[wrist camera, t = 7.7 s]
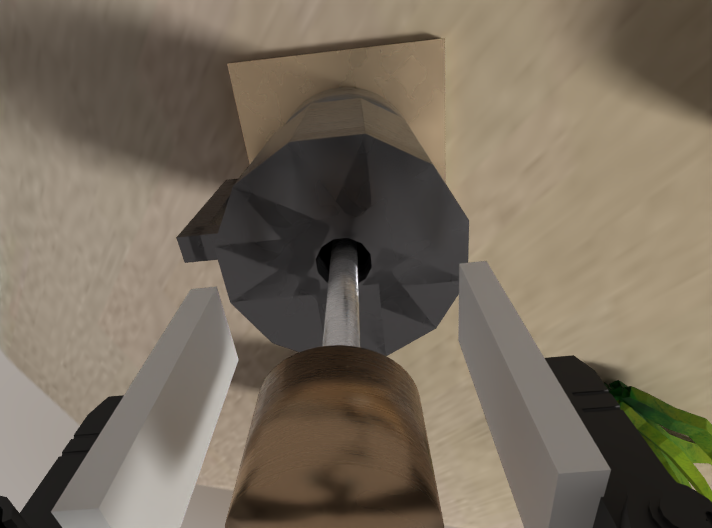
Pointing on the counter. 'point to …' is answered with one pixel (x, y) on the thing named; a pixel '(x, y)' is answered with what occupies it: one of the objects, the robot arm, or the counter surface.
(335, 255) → the plunger
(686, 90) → the counter surface
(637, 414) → the decorative plant
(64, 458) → the robot arm
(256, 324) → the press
